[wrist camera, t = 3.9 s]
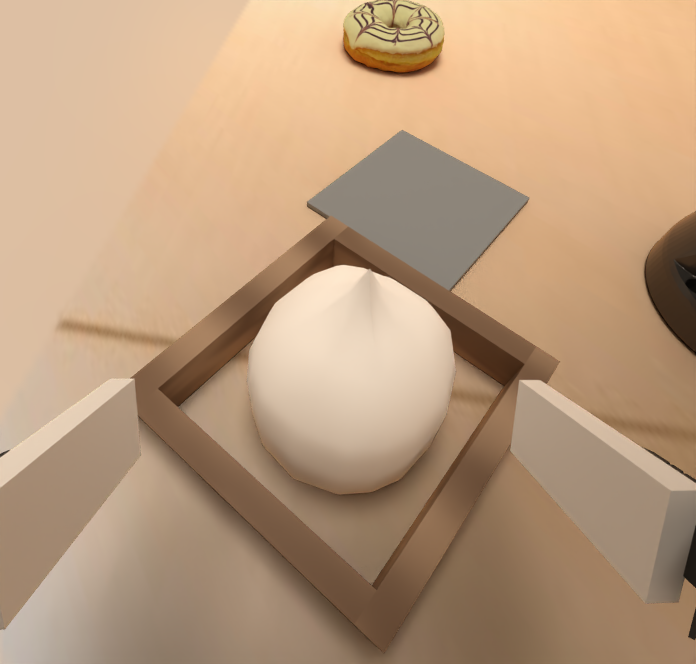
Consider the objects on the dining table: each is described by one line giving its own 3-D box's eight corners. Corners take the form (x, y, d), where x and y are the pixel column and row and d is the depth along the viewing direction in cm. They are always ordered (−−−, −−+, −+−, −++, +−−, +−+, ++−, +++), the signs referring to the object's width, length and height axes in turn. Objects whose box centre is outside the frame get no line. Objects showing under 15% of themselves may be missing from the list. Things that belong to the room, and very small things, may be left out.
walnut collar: (329, 246, 32) (331, 215, 29) (536, 383, 27) (560, 361, 24) (135, 412, 24) (113, 391, 21) (374, 645, 19) (384, 653, 17)
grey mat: (401, 133, 39) (402, 129, 39) (527, 201, 36) (529, 197, 35) (307, 206, 34) (306, 202, 33) (446, 295, 30) (447, 291, 30)
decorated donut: (344, 26, 50) (347, -14, 47) (435, 35, 50) (444, -3, 47) (339, 73, 44) (341, 32, 41) (441, 83, 45) (451, 43, 42)
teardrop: (383, 538, 22) (446, 490, 11) (212, 425, 24) (139, 302, 14) (466, 373, 27) (560, 240, 17) (319, 294, 29) (323, 135, 19)
